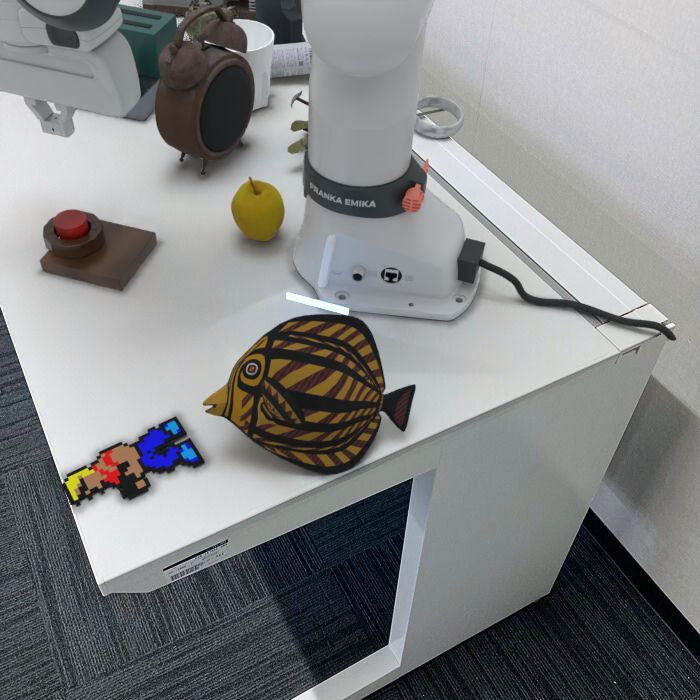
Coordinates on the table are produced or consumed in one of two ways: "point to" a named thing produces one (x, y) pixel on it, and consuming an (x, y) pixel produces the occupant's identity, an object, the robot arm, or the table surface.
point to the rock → (205, 17)
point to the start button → (71, 224)
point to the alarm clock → (205, 89)
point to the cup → (258, 57)
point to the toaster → (147, 50)
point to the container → (291, 59)
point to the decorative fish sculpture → (312, 393)
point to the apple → (258, 210)
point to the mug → (281, 19)
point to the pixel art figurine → (133, 463)
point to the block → (98, 252)
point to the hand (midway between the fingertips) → (59, 132)
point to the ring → (445, 105)
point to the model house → (178, 3)
